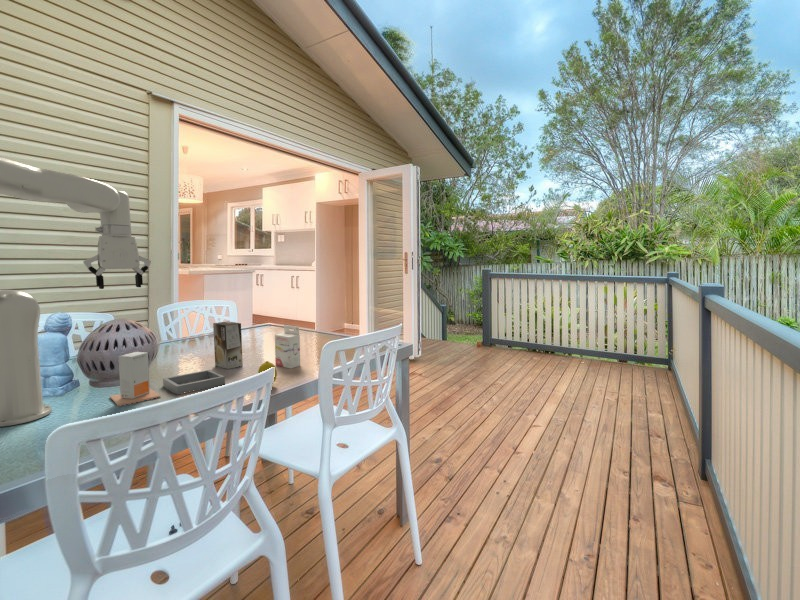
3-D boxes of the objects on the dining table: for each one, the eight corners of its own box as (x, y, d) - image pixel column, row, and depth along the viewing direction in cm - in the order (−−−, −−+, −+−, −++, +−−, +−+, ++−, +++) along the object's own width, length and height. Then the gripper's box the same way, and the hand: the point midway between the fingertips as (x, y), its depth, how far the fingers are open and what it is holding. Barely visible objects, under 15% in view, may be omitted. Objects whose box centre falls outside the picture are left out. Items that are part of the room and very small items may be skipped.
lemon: (258, 390, 122) (257, 364, 121) (258, 384, 127) (258, 359, 127) (277, 388, 124) (276, 362, 123) (277, 383, 129) (276, 358, 128)
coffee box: (243, 365, 151) (242, 323, 149) (227, 369, 146) (225, 325, 144) (230, 362, 156) (228, 320, 155) (214, 365, 151) (212, 322, 149)
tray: (177, 394, 118) (176, 386, 117) (163, 386, 126) (162, 378, 126) (225, 384, 128) (224, 376, 128) (209, 377, 136) (209, 369, 136)
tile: (118, 406, 108) (118, 404, 108) (109, 398, 115) (109, 395, 115) (160, 397, 115) (160, 395, 115) (149, 389, 122) (149, 388, 122)
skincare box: (133, 399, 112) (130, 356, 111) (120, 398, 113) (117, 356, 112) (150, 392, 118) (148, 352, 117) (138, 391, 119) (136, 351, 118)
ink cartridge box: (274, 365, 151) (273, 326, 150) (285, 362, 155) (284, 324, 154) (290, 368, 146) (289, 328, 145) (301, 365, 151) (300, 326, 149)
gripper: (83, 230, 115) (88, 290, 117) (152, 232, 128) (155, 287, 129) (78, 231, 120) (83, 288, 122) (145, 233, 133) (148, 286, 135)
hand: (120, 287), depth 126 cm, fingers open, 9 cm apart
